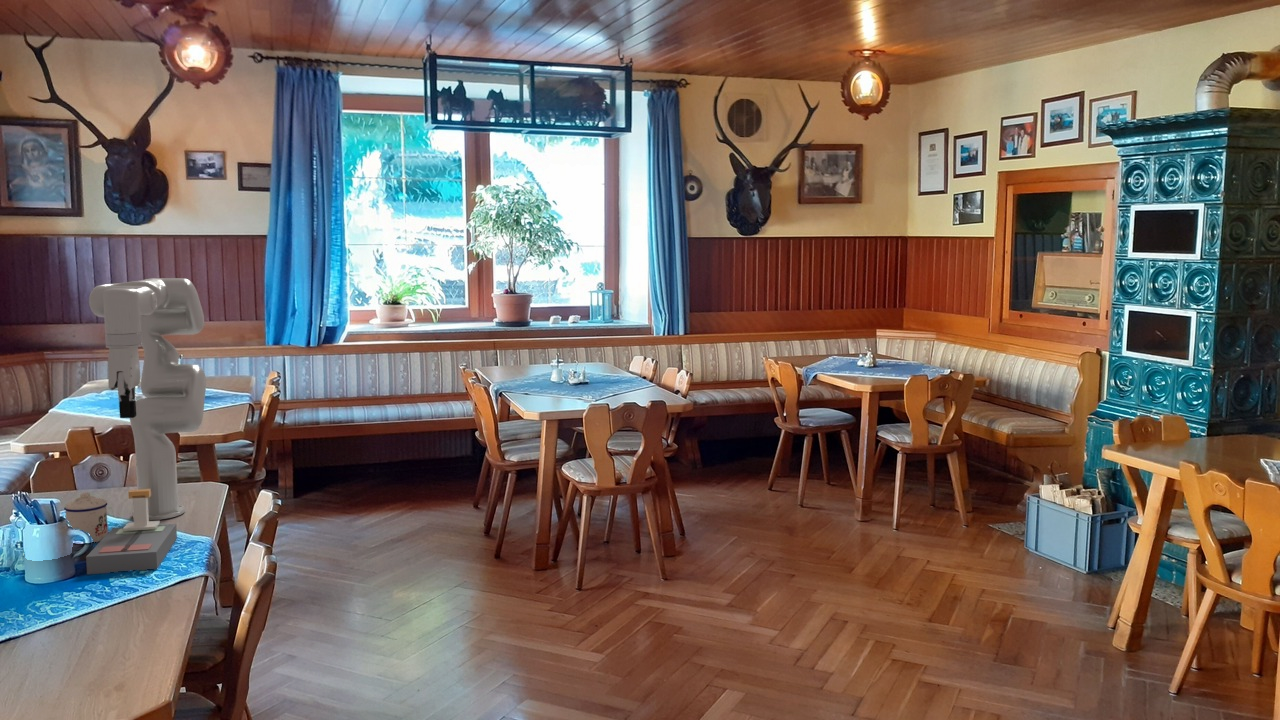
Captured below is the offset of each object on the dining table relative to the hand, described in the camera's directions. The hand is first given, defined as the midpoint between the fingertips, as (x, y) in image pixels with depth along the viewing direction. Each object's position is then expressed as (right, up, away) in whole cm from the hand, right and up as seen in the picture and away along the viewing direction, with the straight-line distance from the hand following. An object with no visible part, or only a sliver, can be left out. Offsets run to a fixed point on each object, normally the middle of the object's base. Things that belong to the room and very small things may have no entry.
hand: (128, 417), depth 226 cm
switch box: (+4, -32, -5) cm, 33 cm away
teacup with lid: (-14, -30, +8) cm, 34 cm away
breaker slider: (+2, -26, +2) cm, 27 cm away
